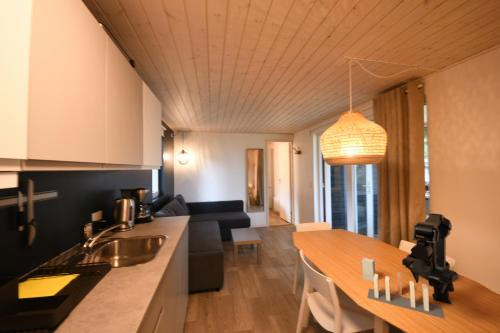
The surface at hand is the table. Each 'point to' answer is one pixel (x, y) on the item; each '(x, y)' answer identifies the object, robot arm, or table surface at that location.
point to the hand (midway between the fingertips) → (429, 287)
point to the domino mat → (407, 303)
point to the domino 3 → (399, 283)
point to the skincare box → (368, 269)
